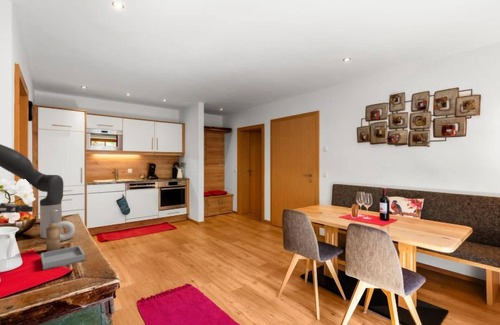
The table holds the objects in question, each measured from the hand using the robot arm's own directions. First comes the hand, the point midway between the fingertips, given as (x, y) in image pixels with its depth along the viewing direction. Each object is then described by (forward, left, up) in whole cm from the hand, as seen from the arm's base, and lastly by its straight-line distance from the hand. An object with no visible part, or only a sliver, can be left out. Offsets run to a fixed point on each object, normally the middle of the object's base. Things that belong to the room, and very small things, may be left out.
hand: (30, 208), depth 110 cm
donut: (-14, +13, -20) cm, 28 cm away
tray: (+17, +10, -20) cm, 28 cm away
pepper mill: (0, +8, -20) cm, 22 cm away
